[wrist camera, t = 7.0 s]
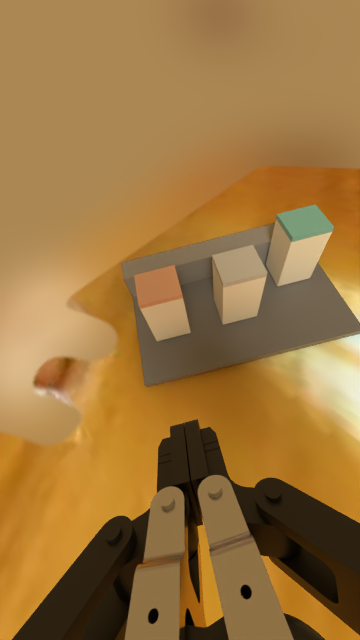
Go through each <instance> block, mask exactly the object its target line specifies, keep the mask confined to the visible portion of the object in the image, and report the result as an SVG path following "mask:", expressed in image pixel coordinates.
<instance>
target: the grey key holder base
mask: <svg viewBox="0 0 360 640" xmlns="http://www.w3.org/2000/svg"><path fill="white" fill-rule="evenodd" d="M274 226H275V223H273V224H270V225H266V226H262V227H258V228H254V229H250V230H246V231H243V232H239V233H235V234H231V235H227V236H223V237H219V238H215V239H212V240H208V241H204V242H200V243H196V244H192V245H188V246H185V247H181V248H177V249H173V250H169V251H165V252H161V253H157V254H154V255H150V256H146V257H142V258H138V259H134V260H130V261H127V262H123V263H122V269H123V278H124V281H125V283H126V285H127V287H128V289H129V290H130V292H131V294H132V296H133V301H134V309H135V316H136V323H137V331H138V338H139V346H140V353H141V360H142V368H143V375H144V383H145V386H146V387H150V386H153V385H157V384H161V383H165V382H169V381H173V380H177V379H181V378H185V377H189V376H193V375H197V374H201V373H205V372H209V371H213V370H217V369H221V368H225V367H229V366H233V365H237V364H241V363H245V362H249V361H253V360H257V359H261V358H265V357H269V356H273V355H277V354H281V353H285V352H289V351H293V350H297V349H301V348H305V347H309V346H313V345H317V344H321V343H325V342H329V341H333V340H337V339H341V338H345V337H349V336H353V335H357V334H360V323H359V321H358V320H357V318H356V317H355V315H354V314H353V313H352V311H351V310H350V308H349V307H348V305H347V304H346V302H345V301H344V300H343V298H342V297H341V295H340V294H339V292H338V291H337V289H336V288H335V287H334V285H333V284H332V282H331V281H330V279H329V278H328V277H327V275H326V274H325V272H324V271H323V269H322V268H321V266H320V265H319V264H318V262H317V264H316V266H315V268H314V271H313V273H312V275H311V277H310V278H309V279H305V280H301V281H297V282H293V283H289V284H285V285H281V286H277V285H276V283H275V281H274V279H273V277H272V276H271V274H270V272H269V270H268V268H267V266H266V261H267V257H268V252H269V248H270V244H271V239H272V235H273V230H274ZM250 245H253V246H254V248H255V250H256V252H257V254H258V256H259V257H260V259H261V261H262V263H263V265H264V267H265V269H266V271H267V277H266V281H265V285H264V289H263V293H262V297H261V301H260V305H259V309H258V314H257V316H255V317H251V318H248V319H244V320H240V321H236V322H232V323H228V324H224V325H223V324H222V322H221V319H220V316H219V313H218V310H217V307H216V304H215V301H214V291H213V265H212V255H215V254H219V253H223V252H226V251H230V250H234V249H238V248H242V247H246V246H250ZM172 265H175V269H176V273H177V277H178V280H179V284H180V288H181V292H182V295H183V300H184V304H185V309H186V313H187V318H188V322H189V327H190V331H191V333H188V334H184V335H180V336H177V337H173V338H169V339H165V340H161V341H156V339H155V337H154V335H153V333H152V331H151V329H150V327H149V325H148V323H147V321H146V319H145V317H144V315H143V313H142V312H141V310H140V308H139V306H138V299H137V292H136V285H135V279H134V275H137V274H141V273H145V272H149V271H153V270H157V269H161V268H164V267H168V266H172Z"/></svg>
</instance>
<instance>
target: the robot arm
mask: <svg viewBox="0 0 360 640" xmlns="http://www.w3.org/2000/svg"><path fill="white" fill-rule="evenodd" d="M201 514H202V515H201ZM202 518H203V521H204V524H205V529H206V533H207V538H208V542H209V547H210V549H209V551H210V556H211V561H212V565H213V570H214V574H215V579H216V583H217V588H218V592H219V597H220V601H221V606H222V611H223V615H224V616H223V617H222V618H221V619H219V620H218V621H216V622H215V623H213V624H212V625H210V626H209V627H206V622H205V616H204V607H203V590H202V572H201V555H200V545H199V537H198V529H197V526H199V525H203V522H202ZM261 555H263V556H269V558H270V559H271V561H272V562H273V563H274V564H275V565H276V566H278V567H279V568H280V569H281V570H282V571H284V572H285V573H286V574H287V575H288V576H290V577H291V578H292V579H293V580H294V581H295V582H297V583H298V584H299V585H300V586H301V587H303V588H304V589H305V590H306V591H307V592H309V593H310V594H311V595H312V596H313V597H315V598H316V599H317V600H318V601H319V602H321V603H322V604H323V605H324V606H325V607H327V608H328V609H329V610H330V611H331V612H332V613H334V614H335V615H336V616H337V617H338V618H340V619H341V620H342V621H343V622H344V623H346V624H347V625H348V626H349V627H350V628H352V629H353V630H354V631H355V632H356V633H358V634H359V635H360V523H358V522H356V521H355V520H353V519H351V518H349V517H347V516H345V515H344V514H342V513H340V512H338V511H336V510H334V509H333V508H331V507H329V506H327V505H325V504H324V503H322V502H320V501H318V500H316V499H314V498H313V497H311V496H309V495H307V494H305V493H304V492H302V491H300V490H298V489H296V488H294V487H293V486H291V485H289V484H287V483H285V482H284V481H282V480H279V479H276V478H265V479H263V480H261V481H259V482H258V483H257V484H256V486H255V488H251V487H242V486H239V485H237V484H235V483H234V482H233V481H232V480H231V479H230V478H229V476H228V473H227V470H226V467H225V463H224V460H223V456H222V453H221V450H220V446H219V443H218V439H217V436H216V433H215V432H214V431H213V430H212V429H211V428H210V427H208V428H204V429H200V426H199V422H198V419H197V420H193V421H190V422H186V423H185V425H184V423H182V424H178V425H174V426H171V427H170V438H166V439H162V441H161V444H160V446H159V448H158V476H157V494H156V495H155V496H154V498H153V500H152V502H151V507H150V508H149V510H148V511H146V512H145V513H144V514H142V515H141V516H139V517H138V518H136V519H134V520H133V521H131V520H130V519H129V518H128V517H126V516H117V517H114V518H112V519H111V520H109V521H108V522H107V523H106V524H105V525H104V526H103V527H102V528H101V529H100V531H99V532H98V533H97V534H96V536H95V537H94V538H93V539H92V541H91V542H90V543H89V544H88V546H87V547H86V548H85V549H84V551H83V552H82V553H81V554H80V556H79V557H78V558H77V559H76V561H75V562H74V563H73V564H72V565H71V567H70V568H69V569H68V570H67V572H66V573H65V574H64V575H63V577H62V578H61V579H60V580H59V582H58V583H57V584H56V585H55V587H54V588H53V589H52V590H51V592H50V593H49V594H48V595H47V597H46V598H45V599H44V600H43V602H42V603H41V604H40V605H39V607H38V608H37V609H36V610H35V612H34V613H33V614H32V615H31V617H30V618H29V619H28V620H27V621H26V623H25V624H24V625H23V626H22V628H21V629H20V630H19V631H18V633H17V634H16V635H15V636H14V638H13V639H12V640H325V639H324V638H323V637H322V636H321V635H320V634H319V633H317V632H316V631H315V630H314V629H312V628H311V627H310V626H309V625H307V624H306V623H304V622H302V621H301V620H299V619H297V618H295V617H293V616H291V615H288V614H285V613H283V611H282V609H281V606H280V603H279V601H278V598H277V596H276V593H275V591H274V588H273V586H272V583H271V581H270V578H269V575H268V573H267V570H266V568H265V565H264V563H263V560H262V558H261Z"/></svg>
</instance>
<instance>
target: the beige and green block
mask: <svg viewBox="0 0 360 640" xmlns="http://www.w3.org/2000/svg"><path fill="white" fill-rule="evenodd" d="M333 229H334V226H333V225H332V224H331V223H330V221H329V220H328V219H327V218H326V217H325V215H324V214H323V213H322V212H321V211H320V209H319V208H318V207H317V206H316V205H311V206H307V207H304V208H300V209H296V210H292V211H288V212H284V213H280V214H277V217H276V222H275V226H274V230H273V235H272V239H271V244H270V248H269V252H268V257H267V261H266V266H267V268H268V270H269V272H270V274H271V276H272V277H273V279H274V281H275V283H276V285H277V286H281V285H285V284H289V283H293V282H297V281H301V280H305V279H309V278H310V277H311V275H312V273H313V271H314V268H315V266H316V264H317V262H318V260H319V258H320V256H321V254H322V252H323V250H324V248H325V245H326V243H327V241H328V239H329V237H330V235H331V233H332V231H333Z"/></svg>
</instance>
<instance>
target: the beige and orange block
mask: <svg viewBox="0 0 360 640" xmlns="http://www.w3.org/2000/svg"><path fill="white" fill-rule="evenodd" d="M134 279H135V285H136V292H137V299H138V306H139V308H140V310H141V312H142V313H143V315H144V317H145V319H146V321H147V323H148V325H149V327H150V329H151V331H152V333H153V335H154V337H155V339H156V341H161V340H165V339H169V338H173V337H177V336H180V335H184V334H188V333H191V331H190V327H189V322H188V318H187V313H186V309H185V304H184V300H183V295H182V292H181V288H180V284H179V280H178V277H177V273H176V269H175V265H172V266H168V267H164V268H161V269H157V270H153V271H149V272H145V273H141V274H137V275H134Z"/></svg>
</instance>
